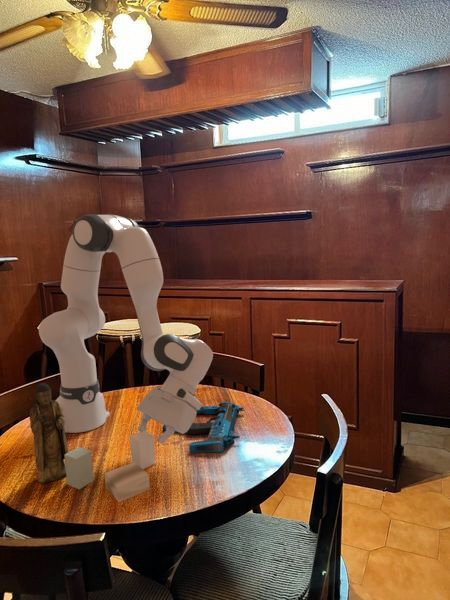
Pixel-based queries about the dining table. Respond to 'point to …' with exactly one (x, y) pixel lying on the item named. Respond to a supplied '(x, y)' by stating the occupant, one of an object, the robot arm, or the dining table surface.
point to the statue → (48, 435)
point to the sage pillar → (79, 467)
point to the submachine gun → (215, 427)
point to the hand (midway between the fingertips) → (149, 437)
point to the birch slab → (127, 481)
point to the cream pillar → (142, 449)
